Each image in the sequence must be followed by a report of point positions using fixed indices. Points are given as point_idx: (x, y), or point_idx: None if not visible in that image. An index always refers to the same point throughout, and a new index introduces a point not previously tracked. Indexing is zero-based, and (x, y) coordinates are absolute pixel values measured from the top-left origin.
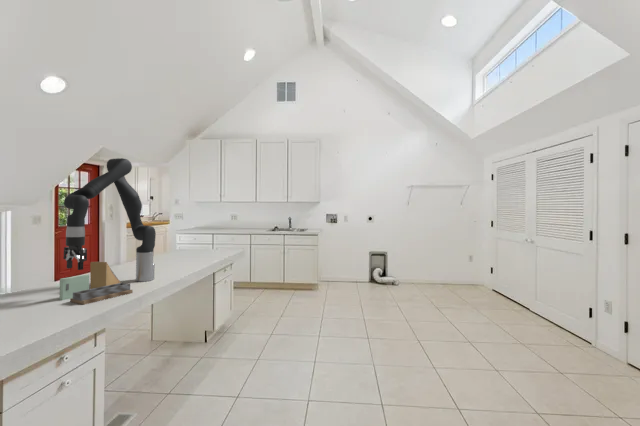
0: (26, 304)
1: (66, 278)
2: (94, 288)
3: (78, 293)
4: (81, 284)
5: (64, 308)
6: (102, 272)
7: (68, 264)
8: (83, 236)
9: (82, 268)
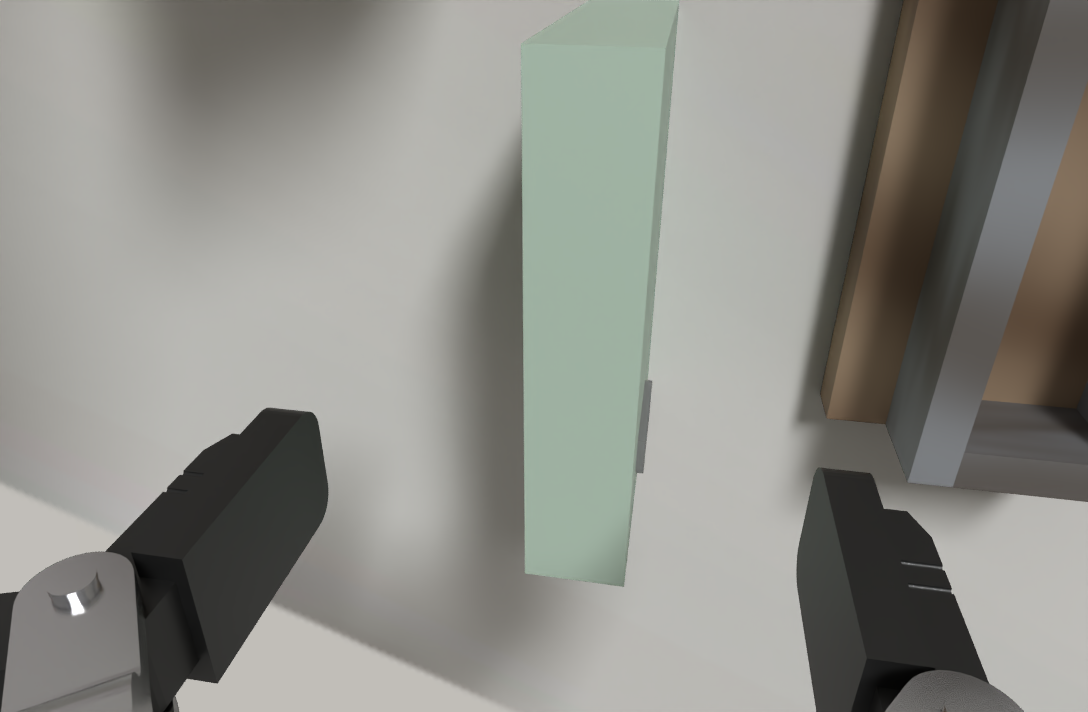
0: (476, 583)
1: (610, 527)
2: (1034, 149)
3: (1055, 493)
4: (659, 193)
5: (1022, 581)
6: None
7: (270, 568)
8: None
9: (904, 528)
